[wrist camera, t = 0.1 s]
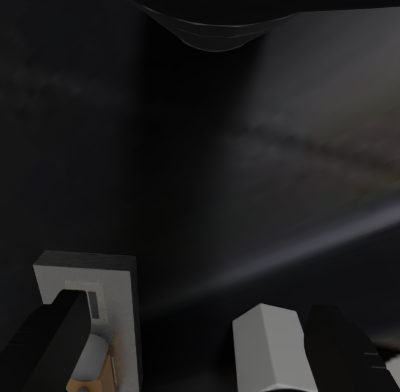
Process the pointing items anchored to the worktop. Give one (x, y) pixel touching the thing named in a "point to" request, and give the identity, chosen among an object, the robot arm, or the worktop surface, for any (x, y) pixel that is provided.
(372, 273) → the worktop surface
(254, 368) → the jar
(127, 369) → the plate
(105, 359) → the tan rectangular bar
